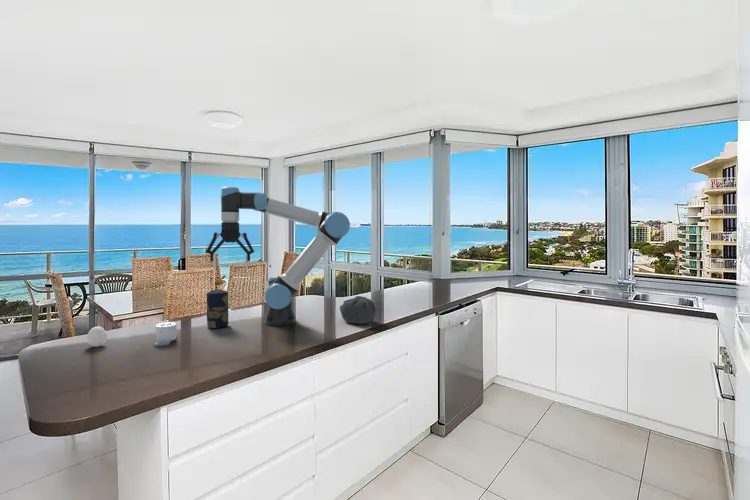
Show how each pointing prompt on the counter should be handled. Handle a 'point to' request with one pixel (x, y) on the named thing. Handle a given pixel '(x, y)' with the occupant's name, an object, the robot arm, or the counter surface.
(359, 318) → the rock
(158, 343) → the shaft stand
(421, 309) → the counter surface
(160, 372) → the counter surface
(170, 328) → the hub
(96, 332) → the egg
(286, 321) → the robot arm
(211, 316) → the canister
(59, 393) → the counter surface
